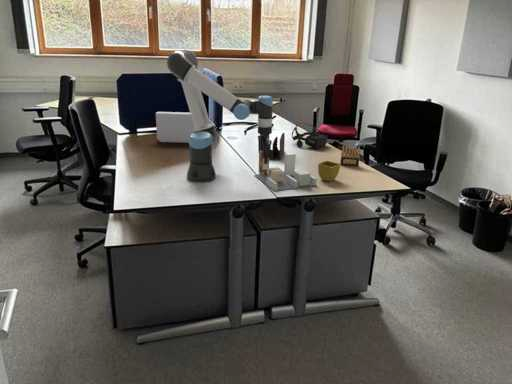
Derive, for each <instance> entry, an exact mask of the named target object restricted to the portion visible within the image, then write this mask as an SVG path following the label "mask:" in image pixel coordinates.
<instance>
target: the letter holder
mask: <svg viewBox="0 0 512 384" xmlns="http://www.w3.org/2000/svg"><path fill="white" fill-rule="evenodd" d="M285 135H286V134H285V132H282V134H281V136H280V138H279V137H278V136H276V137H275V138H274V139H273V142H272V148H271V150H270V158H269V161H281V160H282V158H283V156H284V155H285V138H286V137H285ZM278 139H279V147H278ZM269 140H270V141H272V140H271V139H269Z"/></svg>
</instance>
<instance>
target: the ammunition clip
mask: <svg viewBox="0 0 512 384" xmlns="http://www.w3.org/2000/svg"><path fill="white" fill-rule="evenodd" d="M360 149H361V148H360V146H358V148H357V146H355V147H354V146H353V145H352V147H351V145H349V147H348V145H346V146H345V145H342V148H341V153H340V163H339V164H341V165H340V166H344V167H346V166H347V167H357V168H358V167H359V164H360V155H361V154H360V153H361V152H360V151H361V150H360Z"/></svg>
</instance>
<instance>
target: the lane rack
mask: <svg viewBox="0 0 512 384" xmlns="http://www.w3.org/2000/svg"><path fill="white" fill-rule="evenodd" d="M254 177H255V178H256V179H257V180H259V181H260V182H261V183H263V185H265V186H266V187H267V188H269V189H270V190H271V191H272V192H282V191H283V192H284V191H289V190H296V189H304V188H311V187H317V186H318V184H317V179H318V178H317V177H315V176H313V175H312V174H311V175H310V185H305V186H298V185H297V184H298V181H297V180H295V179H294V178H292V177H291V176H289V175H286V176H285V175H284V171H283V177H282V182H275V181H274V180H272V179H271V178H270V177H267V175H266V174H265V173H259V174H254Z"/></svg>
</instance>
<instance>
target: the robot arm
mask: <svg viewBox="0 0 512 384" xmlns="http://www.w3.org/2000/svg"><path fill="white" fill-rule="evenodd" d="M198 62H199V61H198V57H197V56H196V54H195V53H193V51H192V50H188V49H182V50H176V51H173V52H171V53H170V54H169V55H168V57H167V60H166V65H167V69H168V70H169V72H170V73H171V74H172V75H174V76H175V77H176V80H177V81H178V82H180V83H181V86H182V88H183V89H182V91H183V92H184V93H183V94H184V96H185V99H186V103H187V106H188V110H189V113H191V116H192V120H193V123H194V126H195V127H194V129H193V133H192V134H191V135H190V137H189V143H188V146H189V147H188V148H189V150H188V151H189V164H188V165H189V166H188V170H187V172H186V179H187V180H188V181H190V182H195V183H206V182H211V181H214V180H215V179H216V178H217V176H216V175H217V174H216V173H217V172H216V170H215V167H214V164H213V151H215V150H216V149H217V148H218V145H219V143H220V135H219V133H218V131H217V130H216V129H215V126H214V124H213V123H211V122H210V118H209V114H208V112H207V108H206V104H205V101H204V96H203V94H204V95H206V96H208V97H209V98H210V99H212V100H213V101H215V102H216V103H218V105H220V106H222V107H223V108H224V109H226V110H227V111H229V112H230V113H232V114H233V116H234V117H235V119H237V120H238V121H244V120H246V119H247V118H248V117H250V115H257V133H258V134H259V135H257V141H258V143H257V144H258V146H257V147H258V148H257V149H258V153H259V151H263V156H264V157H262V158H263V165H262V169H263V170H264V169H267V168H268V158H270V150H272V148H271V146H272V144H273V142H272V140H271V139H270V135H271V134H272V133H273V107H274V101H273V100H274V99H273V97H272V96H270V95H259V96H258V99H249V98H248V99H244V98H239V97H237V96H236V95H234V94H232V93H231V92H230V91H229V90H227V89H226V88H224V87H223V86H221V85H220V84H218V83H217V82H216V81H214V80H213V79H211V78H210V77H208V76H207V75H206V74H204V73H203V72H201V71H200V70H199V69H198V66H199V63H198ZM202 93H203V94H202ZM270 140H271V141H270Z"/></svg>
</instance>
